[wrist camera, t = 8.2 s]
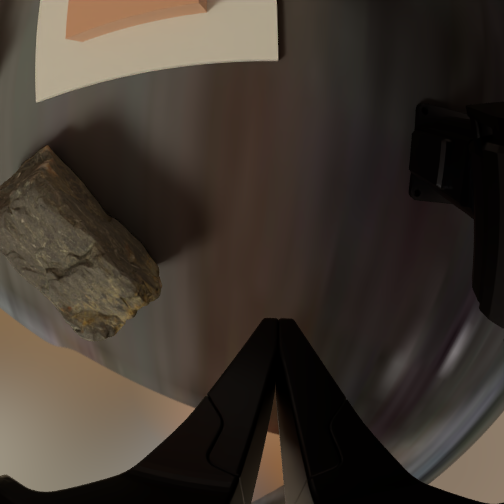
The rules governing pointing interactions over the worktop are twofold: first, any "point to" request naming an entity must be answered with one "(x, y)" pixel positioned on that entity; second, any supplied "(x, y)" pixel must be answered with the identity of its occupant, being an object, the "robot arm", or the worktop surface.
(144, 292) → the rock
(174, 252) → the worktop surface
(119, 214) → the worktop surface
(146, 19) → the terracotta tile
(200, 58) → the beige mat
